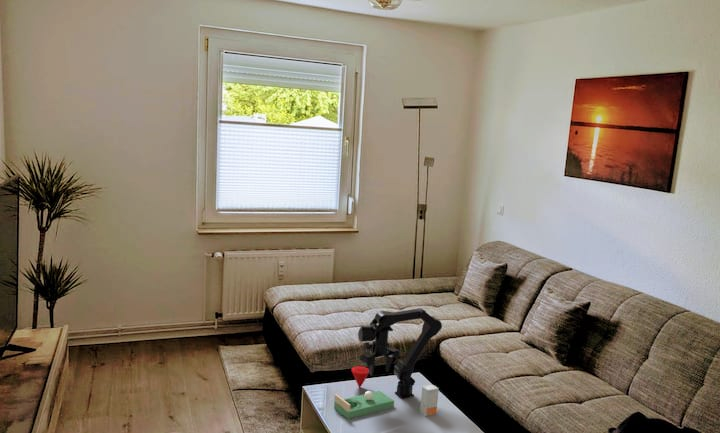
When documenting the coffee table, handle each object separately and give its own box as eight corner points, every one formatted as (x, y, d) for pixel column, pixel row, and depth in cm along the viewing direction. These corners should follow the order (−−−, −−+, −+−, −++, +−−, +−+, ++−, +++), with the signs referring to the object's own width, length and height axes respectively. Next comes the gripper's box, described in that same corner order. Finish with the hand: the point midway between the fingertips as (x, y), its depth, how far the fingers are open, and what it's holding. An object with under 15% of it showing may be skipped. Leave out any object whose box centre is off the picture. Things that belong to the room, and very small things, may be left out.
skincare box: (425, 417, 241) (427, 390, 239) (419, 412, 244) (421, 386, 243) (436, 414, 243) (439, 388, 242) (431, 410, 247) (433, 384, 246)
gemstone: (367, 393, 259) (368, 373, 258) (348, 391, 261) (349, 370, 260) (370, 386, 268) (372, 365, 267) (352, 383, 270) (354, 363, 269)
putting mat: (379, 397, 257) (380, 384, 256) (393, 407, 248) (394, 394, 247) (333, 408, 243) (333, 394, 242) (346, 419, 234) (347, 405, 233)
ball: (362, 399, 247) (369, 397, 249) (367, 402, 244) (374, 400, 246) (362, 390, 246) (370, 388, 249) (368, 394, 243) (375, 392, 245)
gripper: (386, 331, 264) (384, 363, 265) (353, 337, 252) (351, 371, 254) (401, 339, 255) (399, 372, 257) (368, 345, 244) (366, 380, 246)
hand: (379, 373), depth 254 cm, fingers open, 9 cm apart
